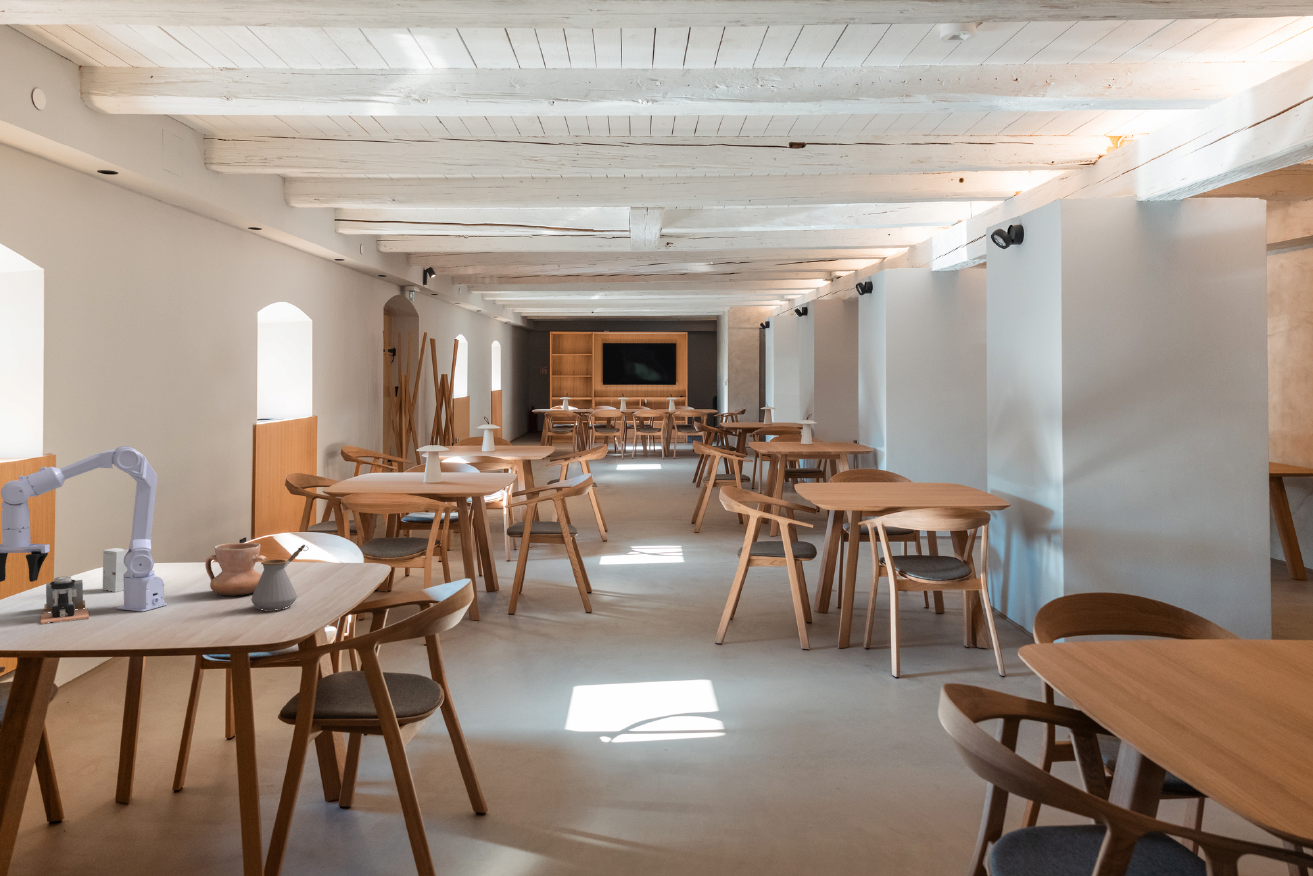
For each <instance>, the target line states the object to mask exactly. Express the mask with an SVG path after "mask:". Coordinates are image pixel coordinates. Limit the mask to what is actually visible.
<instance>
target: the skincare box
mask: <svg viewBox="0 0 1313 876" xmlns="http://www.w3.org/2000/svg"><path fill="white" fill-rule="evenodd" d="M128 550H129V549H125V548H119V547H113V548H108V549H103V552H102V590H103V591H106V590H108V591H107V592H111V591H112V593H118V591H119V592H123V591H122V590H124V581H123V574H124V573H126V571H127V567H126V566H125V564H124V557H125V555H126V553H127V552H128Z"/></svg>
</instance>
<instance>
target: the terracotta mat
mask: <svg viewBox="0 0 1313 876" xmlns="http://www.w3.org/2000/svg"><path fill="white" fill-rule="evenodd" d="M45 615H52V612H51V613H44V612H43V613H41V618H40V625H46V624H45V623H48V622H57V623H61V622H60V621H66V622H71V621H70V620H74V619H83V620H87V619H86V618H90V617H89V616H90V615H89V609H88V607H87V608H85V609H78V610H75V614H74V616H67V617H57V618H52V616H45ZM74 621H75V620H74Z"/></svg>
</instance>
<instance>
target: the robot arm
mask: <svg viewBox="0 0 1313 876" xmlns="http://www.w3.org/2000/svg"><path fill="white" fill-rule="evenodd" d="M113 466H115V467H116V468H117V469H119V470H121V471H123V472H124V473H126V474H128V475H129V476H130V477H131V478H132V479H133V480H134V481H135V482H136V487H135V494H134V495H135V496H134V505H133V506H134V507H133V515H132V526H131V535H130V541H129V547H128V549H127V550H128V552H127V553H126V555H125V557H124V564H125V566H126V567H127V571H126V573H124V574H123V581H124V591H123V605H118V606H115V610H122V611H125V610H126V611H133V612H146V611H150V610H153V609H157V608H160V607H164V606H167V604H168V603H166V602H165V583H164V580H163V579H162V578H161V577H160V576H157V575H156V574H155V571H154V570H153V569H154V565H155V562H154V559H153V557H152V533H153V531H152V530H153V522H154V513H155V511H154V510H155V503H156V493H157V482H158V475H157V473H156V472H155V470H154V468H153V467H152V466H151V464H150V463H149V460H148V459H147V458H146V456H145V455H144V454H142V453H141V452H140V451H138V450H137V449H135V448H134V447H131V446H128V445H122V446H119V447H117V448H115V449H114V448H112V449H107V450H103V451H100V452H97V453H94V454H92V455H89V456H87V457H85V458H82V459H79V460H77V461H75V462H72V463H70V464H67V465H65V466H63V467H60V468H58V467H55V466H49V467H46V466H42V467H40V468H39V470H38V471H35V472H33V473H31V474H30V473H29V474H27V475H25V476H24V475H23V474H21V475H19V476H18V477H17V478H18V480H17V479H15V480H10V481H7V482H6V483H4V484H3V486H2V487H1V489H0V497H1V499H2V502H1V509H2V510H1V540H2V542H1V544H0V583H2V582H4V581H5V582H6V577H7V575H6V574H7V573H6V571H7V570H6V566H7V559H8V554H23V553H24V554H25V553H26V554H25V559H26V562H27V566H28V567H27V568H28V580H29V583H30V582H31V583H33V582H36V581H38V579H39V574H40V570H41V568H42V565H43V563H44V562H45V560H46V558H47V557H48V555H49V553H50V552H51V551H50V550H51V549H50V546H51V545H50V543H49V544H47V543H46V544H44V543H31V510H30V508H29V499H30V498H31V497H35V498H36V497H38V496H41V495H44V494H46V493H48V492H50V491H53V490H56V489H59V488H61V487H63V485H64V483H65V481H66V480H68V479H71V478H73V477H76V476H79V475H82V474H84V473H85V474H86V473H88V472H91V471H93V470H95V469H99V468H101V469H102V468H103V469H113Z"/></svg>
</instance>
